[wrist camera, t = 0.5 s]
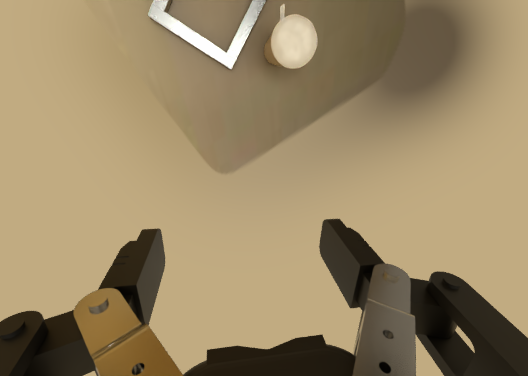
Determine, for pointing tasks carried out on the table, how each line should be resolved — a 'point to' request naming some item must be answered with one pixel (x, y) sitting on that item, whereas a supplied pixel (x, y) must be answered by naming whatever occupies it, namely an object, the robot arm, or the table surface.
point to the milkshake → (291, 41)
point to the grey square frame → (227, 59)
